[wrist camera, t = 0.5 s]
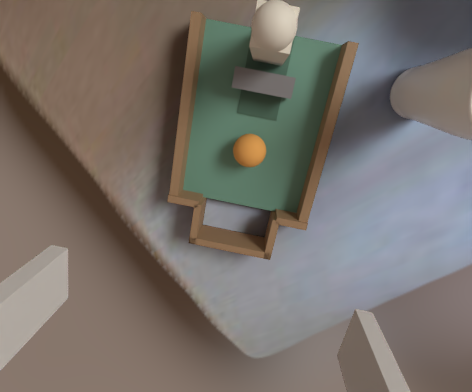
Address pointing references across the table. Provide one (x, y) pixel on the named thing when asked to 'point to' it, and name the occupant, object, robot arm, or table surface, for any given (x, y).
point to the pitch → (254, 131)
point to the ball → (249, 150)
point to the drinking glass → (438, 94)
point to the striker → (269, 48)
